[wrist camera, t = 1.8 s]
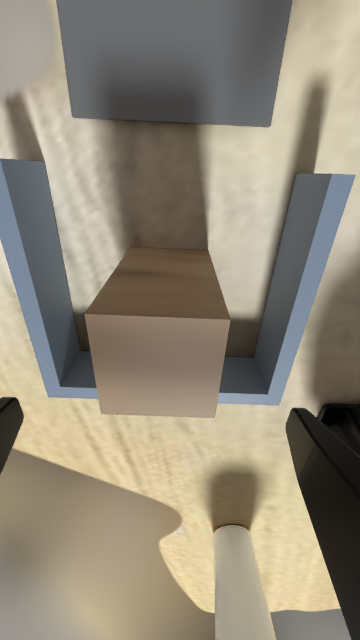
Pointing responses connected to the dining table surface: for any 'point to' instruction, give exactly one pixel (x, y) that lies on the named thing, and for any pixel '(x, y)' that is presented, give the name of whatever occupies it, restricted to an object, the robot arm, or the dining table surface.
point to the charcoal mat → (174, 59)
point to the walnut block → (159, 335)
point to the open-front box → (238, 372)
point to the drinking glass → (239, 588)
